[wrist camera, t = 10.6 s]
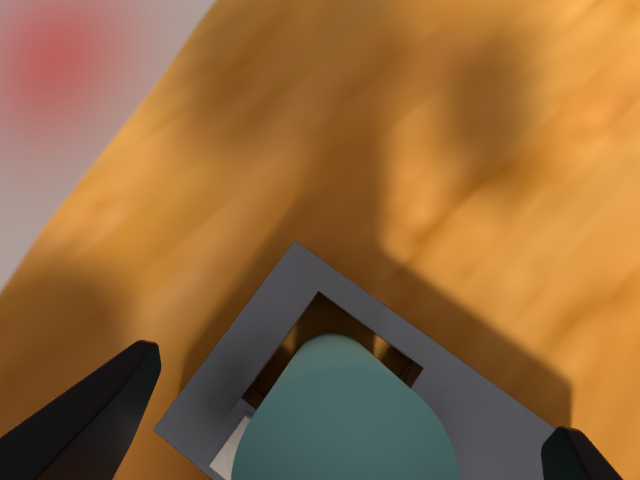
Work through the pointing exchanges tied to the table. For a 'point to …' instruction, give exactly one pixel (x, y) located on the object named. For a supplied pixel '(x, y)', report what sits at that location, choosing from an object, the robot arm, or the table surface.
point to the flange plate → (420, 376)
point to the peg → (342, 422)
